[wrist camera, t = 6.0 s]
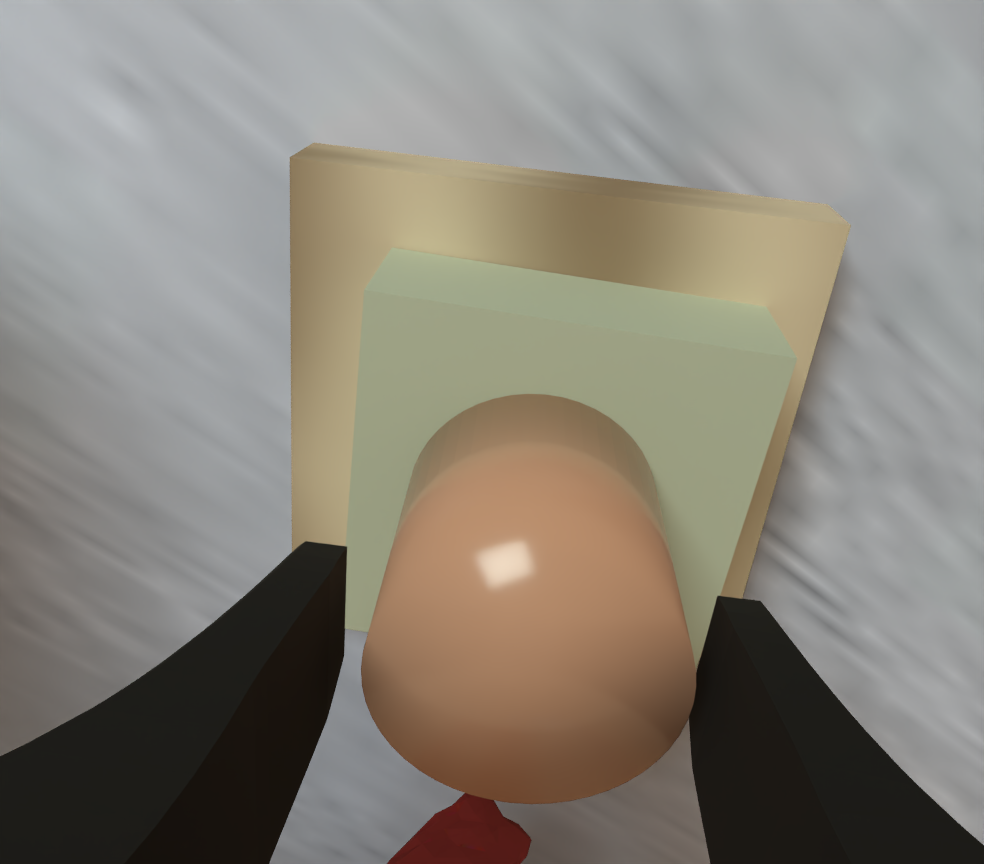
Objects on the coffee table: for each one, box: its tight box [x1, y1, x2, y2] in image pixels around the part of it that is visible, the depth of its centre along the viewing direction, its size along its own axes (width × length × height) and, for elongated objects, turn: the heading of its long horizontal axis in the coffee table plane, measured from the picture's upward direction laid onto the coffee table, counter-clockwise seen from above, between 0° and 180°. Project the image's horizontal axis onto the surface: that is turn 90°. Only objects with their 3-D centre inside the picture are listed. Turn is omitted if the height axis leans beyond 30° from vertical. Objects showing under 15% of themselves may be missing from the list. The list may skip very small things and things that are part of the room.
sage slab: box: [345, 248, 797, 668], centre depth 17 cm, size 7×7×2 cm
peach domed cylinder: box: [361, 394, 696, 804], centre depth 14 cm, size 4×4×4 cm
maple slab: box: [290, 143, 851, 657], centre depth 19 cm, size 10×10×2 cm
